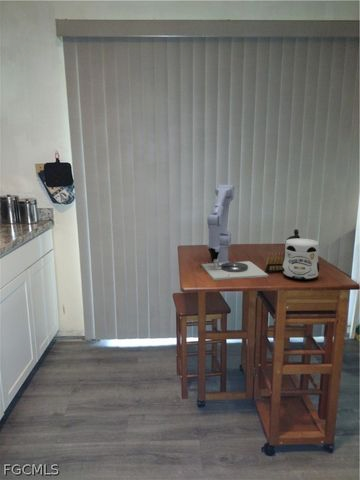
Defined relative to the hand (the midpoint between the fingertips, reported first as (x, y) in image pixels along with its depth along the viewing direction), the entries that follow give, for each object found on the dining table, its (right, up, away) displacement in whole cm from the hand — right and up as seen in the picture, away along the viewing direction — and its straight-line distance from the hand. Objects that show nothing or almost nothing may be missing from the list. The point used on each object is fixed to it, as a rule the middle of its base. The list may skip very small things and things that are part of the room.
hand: (214, 262), depth 200 cm
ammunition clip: (+31, -5, -5) cm, 32 cm away
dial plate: (+10, -5, -3) cm, 11 cm away
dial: (+9, -3, -2) cm, 9 cm away
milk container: (+41, -7, -14) cm, 44 cm away
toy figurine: (+50, +2, +26) cm, 57 cm away
